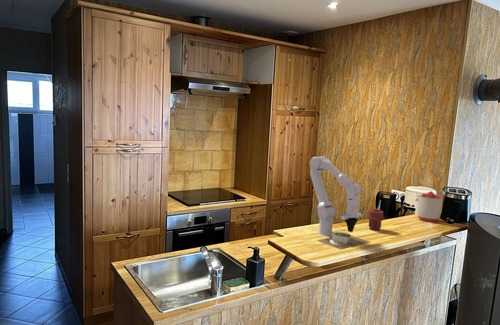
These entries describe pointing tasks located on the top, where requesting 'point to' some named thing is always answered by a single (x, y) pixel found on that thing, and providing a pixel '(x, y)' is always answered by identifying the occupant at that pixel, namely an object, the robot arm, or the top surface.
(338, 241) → the steel bearing ring
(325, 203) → the robot arm
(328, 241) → the seat board
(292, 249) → the top surface
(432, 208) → the citrus juicer
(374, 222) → the mechanical component
